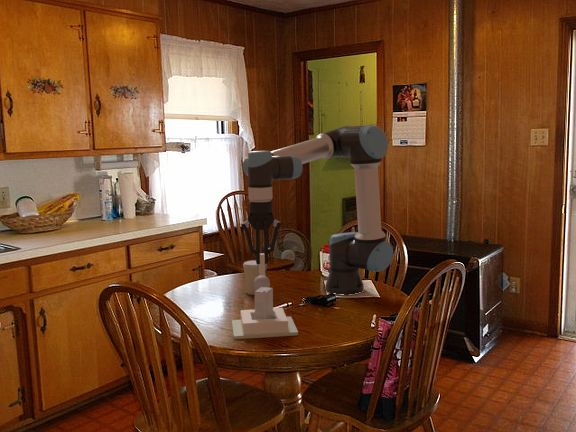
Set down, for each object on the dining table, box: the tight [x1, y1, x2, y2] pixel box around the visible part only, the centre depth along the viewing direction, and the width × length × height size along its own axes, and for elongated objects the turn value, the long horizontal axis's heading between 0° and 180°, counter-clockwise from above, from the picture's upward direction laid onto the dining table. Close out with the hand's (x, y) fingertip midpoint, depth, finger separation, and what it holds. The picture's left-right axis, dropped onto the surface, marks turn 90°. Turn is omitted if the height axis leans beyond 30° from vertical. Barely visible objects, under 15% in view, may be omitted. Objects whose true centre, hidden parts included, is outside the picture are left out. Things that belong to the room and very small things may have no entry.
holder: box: [231, 307, 299, 340], centre depth 189 cm, size 20×16×4 cm
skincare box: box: [254, 287, 274, 320], centre depth 188 cm, size 6×4×12 cm
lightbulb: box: [254, 275, 271, 291], centre depth 215 cm, size 6×6×11 cm
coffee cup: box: [242, 259, 268, 296], centre depth 233 cm, size 9×9×12 cm
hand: (262, 274), depth 187 cm, fingers closed
